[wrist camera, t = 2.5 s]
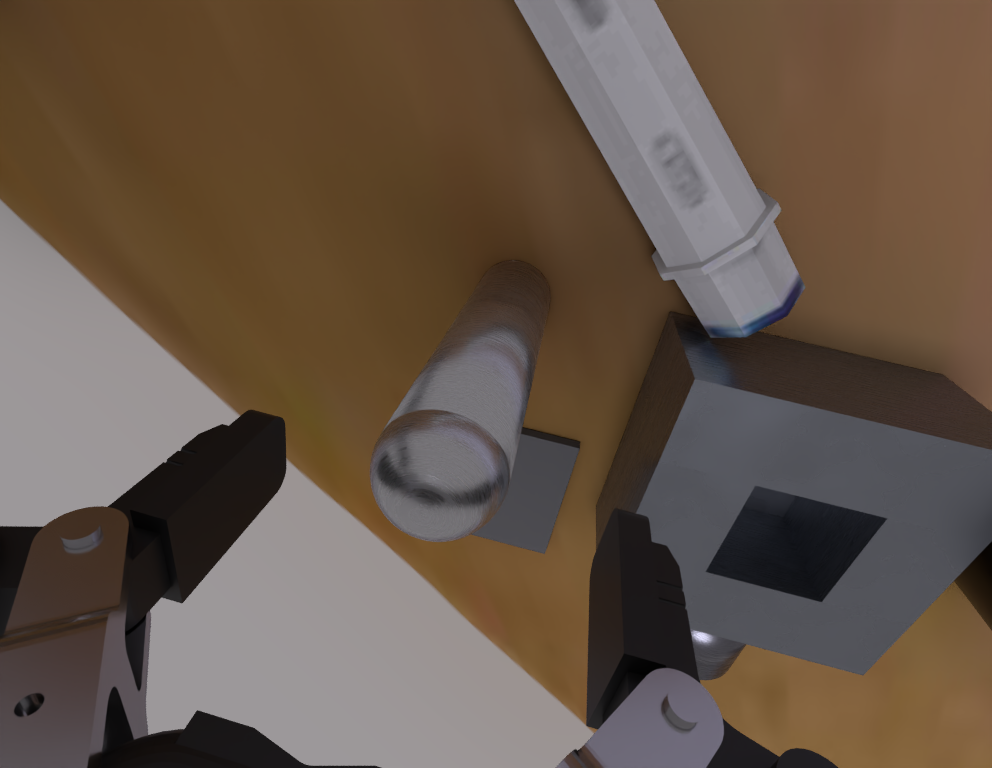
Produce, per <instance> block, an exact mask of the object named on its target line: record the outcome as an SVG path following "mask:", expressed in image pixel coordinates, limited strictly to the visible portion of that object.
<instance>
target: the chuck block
mask: <svg viewBox="0 0 992 768" xmlns="http://www.w3.org/2000/svg"><path fill="white" fill-rule="evenodd" d="M615 508H617V509H621V510H625V511H629V512H632V513H636V514H640V515H644V516H647V517H648V518H649V522H650V530H651V539H652V542H655V543H659V544H662V545H666V546H667V547H668V548H669V550H670V552H671V553H672V555H673V557H674V558H675V560H676V562H677V563H678V565H679V567H680V573H681V578H682V584H683V590H682V591H683V592H684V596H685V601H686V608H685V609H687V613H688V619H689V624H690V630H691V636H692V642H693V647H694V653H695V659H696V665H697V670H698V676H699V680H712V679H716V678H719V677H721V676H722V675H724V674H725V673H726V672H727V671H728V670H729V668H730V667H731V665H732V664H733V663H734V661H735V660H736V658H737V657H738V656H739V654H740V653H741V651H742V650H743V649H744V647H745V646H746V644H748V645H751V646H755V647H759V648H763V649H766V650H770V651H774V652H778V653H781V654H785V655H789V656H793V657H796V658H800V659H804V660H807V661H811V662H815V663H819V664H822V665H826V666H830V667H834V668H837V669H841V670H845V671H849V672H852V673H856V674H860V675H864V674H865V673H866V672H867V671H868V670H869V669H870V668H871V667H872V666H873V665H874V664H875V662H876V661H877V660H878V659H879V658H880V657H881V656H882V655H883V654H884V653H885V652H886V651H887V650H888V649H889V648H890V647H891V646H892V645H893V644H894V643H895V642H896V641H897V640H898V638H899V637H900V636H901V635H902V634H903V633H904V632H905V631H906V630H907V629H908V628H909V627H910V626H911V625H912V624H913V623H914V622H915V621H916V620H917V619H918V618H919V617H920V616H921V614H922V613H923V612H924V611H925V610H926V609H927V608H928V607H929V606H930V605H931V604H932V603H933V602H934V601H935V600H936V599H937V598H938V597H939V596H940V595H941V594H942V593H943V592H944V590H945V589H946V588H947V587H948V586H949V585H950V584H951V583H952V582H953V581H954V580H955V579H956V578H957V577H958V576H959V575H960V574H961V573H962V572H963V571H964V570H965V569H966V568H967V566H968V565H969V564H970V563H971V562H972V561H973V560H974V559H975V558H976V557H977V556H978V555H979V554H980V553H981V552H982V551H983V550H984V549H985V548H986V547H987V546H988V545H989V544H990V542H991V541H992V412H991V411H990V410H988V409H987V408H986V407H984V406H983V405H982V404H981V403H979V402H978V401H977V400H975V399H974V398H973V397H971V396H970V395H969V394H968V393H966V392H965V391H964V390H962V389H961V388H960V387H958V386H957V385H956V384H955V383H953V382H952V381H951V380H949V379H948V378H947V377H946V376H944V375H941V374H937V373H933V372H929V371H924V370H920V369H916V368H911V367H907V366H903V365H898V364H894V363H890V362H885V361H881V360H877V359H873V358H868V357H864V356H860V355H855V354H851V353H847V352H842V351H838V350H834V349H829V348H825V347H821V346H817V345H812V344H808V343H804V342H799V341H795V340H791V339H786V338H782V337H778V336H774V335H769V334H765V333H761V332H755V333H753V334H751V335H749V336H747V337H727V338H710V336H709V334H708V333H707V331H706V330H705V328H704V326H703V325H702V323H701V322H700V320H699V318H696V317H692V316H687V315H683V314H679V313H674V312H670V313H669V316H668V319H667V321H666V324H665V327H664V329H663V332H662V334H661V337H660V340H659V342H658V345H657V348H656V350H655V353H654V355H653V358H652V361H651V363H650V366H649V369H648V371H647V374H646V376H645V379H644V382H643V384H642V387H641V390H640V392H639V395H638V398H637V400H636V403H635V405H634V408H633V411H632V413H631V416H630V419H629V421H628V424H627V426H626V429H625V432H624V434H623V437H622V440H621V442H620V445H619V447H618V450H617V453H616V455H615V458H614V461H613V463H612V466H611V469H610V471H609V474H608V476H607V479H606V482H605V484H604V487H603V490H602V492H601V495H600V497H599V500H598V503H597V505H596V550H597V548H598V545H599V543H600V540H601V538H602V535H603V533H604V530H605V528H606V526H607V523H608V521H609V518H610V516H611V513H612V511H613V510H614V509H615Z"/></svg>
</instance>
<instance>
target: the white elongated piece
mask: <svg viewBox="0 0 992 768" xmlns="http://www.w3.org/2000/svg"><path fill="white" fill-rule="evenodd" d="M514 1H515V3H516V4H517V6H518V8H519V10H520V11H521V13H522V15H523V17H524V18H525V20H526V22H527V24H528V25H529V27H530V29H531V31H532V32H533V34H534V36H535V38H536V39H537V41H538V43H539V45H540V46H541V48H542V50H543V52H544V53H545V55H546V57H547V59H548V60H549V62H550V64H551V66H552V67H553V69H554V71H555V73H556V74H557V76H558V78H559V80H560V81H561V83H562V85H563V87H564V88H565V90H566V92H567V94H568V95H569V97H570V99H571V101H572V102H573V104H574V106H575V108H576V109H577V111H578V113H579V115H580V116H581V118H582V120H583V122H584V123H585V125H586V127H587V129H588V130H589V132H590V134H591V136H592V137H593V139H594V141H595V143H596V144H597V146H598V148H599V150H600V151H601V153H602V155H603V157H604V158H605V160H606V162H607V164H608V165H609V167H610V169H611V171H612V172H613V174H614V176H615V178H616V179H617V181H618V183H619V185H620V186H621V188H622V190H623V192H624V193H625V195H626V197H627V198H628V200H629V202H630V204H631V205H632V207H633V209H634V211H635V212H636V214H637V216H638V218H639V219H640V221H641V223H642V225H643V226H644V228H645V230H646V232H647V233H648V235H649V237H650V239H651V240H652V242H653V244H654V246H655V247H656V249H657V250H656V251H655V252H654V254H653V255H652V256H651V257H652V259H653V261H654V263H655V265H656V268H657V270H658V272H659V274H660V276H661V277H662V279H663V280H664V281H666V280H673V279H674V280H675V281H676V283H677V284H678V286H679V288H680V289H681V291H682V293H683V294H684V296H685V297H686V299H687V301H688V302H689V304H690V305H691V307H692V309H693V310H694V312H695V313H696V315H697V317H698V318H699V320H700V322H701V323H702V325H703V326H704V328H705V330H706V331H707V333H708V334H709V336H710V338H727V337H747V336H749V335H751V334H753V333H755V332H757V331H759V330H761V329H763V328H765V327H767V326H769V325H771V324H773V323H774V322H776V321H778V320H780V319H782V318H784V317H786V316H787V315H788V314H789V312H790V311H791V309H792V307H793V306H794V304H795V303H796V301H797V300H798V298H799V297H800V295H801V293H802V292H803V290H804V289H805V286H804V284H803V282H802V280H801V278H800V275H799V273H798V271H797V269H796V267H795V265H794V263H793V261H792V259H791V257H790V255H789V253H788V251H787V249H786V247H785V245H784V243H783V240H782V238H781V236H780V234H779V232H778V230H777V228H776V226H775V224H774V222H773V221H774V220H775V219H776V217H777V216H778V214H779V213H780V211H781V208H780V206H779V204H778V202H777V201H775V200H774V199H773V198H771V197H770V196H769V195H767V194H766V193H765V192H763V191H762V190H761V189H756V187H755V185H754V183H753V182H752V180H751V178H750V176H749V174H748V172H747V171H746V169H745V167H744V165H743V163H742V161H741V159H740V158H739V156H738V154H737V152H736V150H735V148H734V147H733V145H732V143H731V141H730V139H729V137H728V136H727V134H726V132H725V130H724V128H723V126H722V124H721V123H720V121H719V119H718V117H717V115H716V113H715V112H714V110H713V108H712V106H711V104H710V102H709V100H708V99H707V97H706V95H705V93H704V91H703V89H702V88H701V86H700V84H699V82H698V80H697V78H696V77H695V75H694V73H693V71H692V69H691V67H690V65H689V64H688V62H687V60H686V58H685V56H684V54H683V53H682V51H681V49H680V47H679V45H678V43H677V41H676V40H675V38H674V36H673V34H672V32H671V30H670V29H669V27H668V25H667V23H666V21H665V19H664V18H663V16H662V14H661V12H660V10H659V8H658V6H657V5H656V3H655V1H654V0H514Z"/></svg>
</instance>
